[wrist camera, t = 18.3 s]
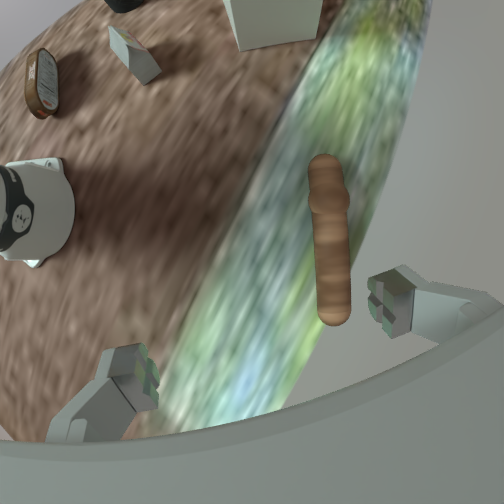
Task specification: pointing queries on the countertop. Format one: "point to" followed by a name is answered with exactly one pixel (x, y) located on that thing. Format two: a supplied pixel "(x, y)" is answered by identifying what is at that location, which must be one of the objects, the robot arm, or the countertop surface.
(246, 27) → the gray stand
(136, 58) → the small grey carton
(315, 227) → the wooden turned rod
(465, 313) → the robot arm
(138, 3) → the travel mug
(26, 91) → the tin
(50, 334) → the countertop surface
